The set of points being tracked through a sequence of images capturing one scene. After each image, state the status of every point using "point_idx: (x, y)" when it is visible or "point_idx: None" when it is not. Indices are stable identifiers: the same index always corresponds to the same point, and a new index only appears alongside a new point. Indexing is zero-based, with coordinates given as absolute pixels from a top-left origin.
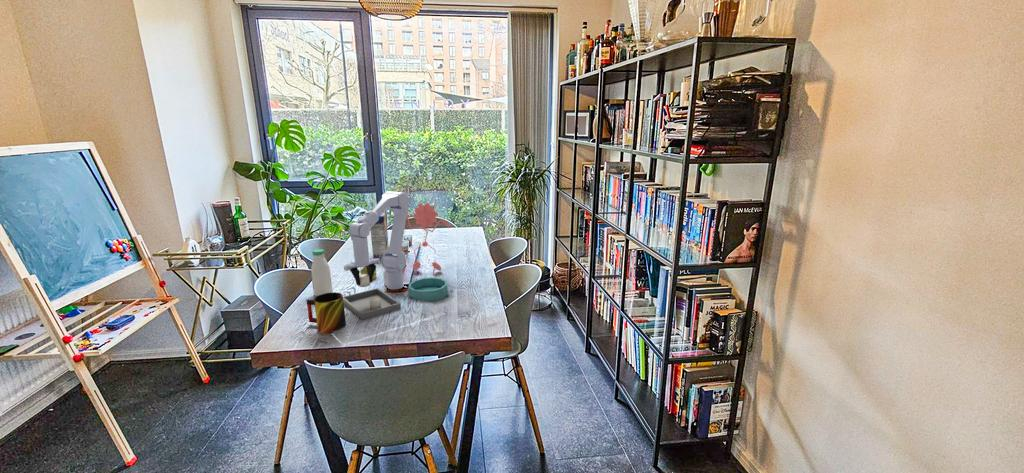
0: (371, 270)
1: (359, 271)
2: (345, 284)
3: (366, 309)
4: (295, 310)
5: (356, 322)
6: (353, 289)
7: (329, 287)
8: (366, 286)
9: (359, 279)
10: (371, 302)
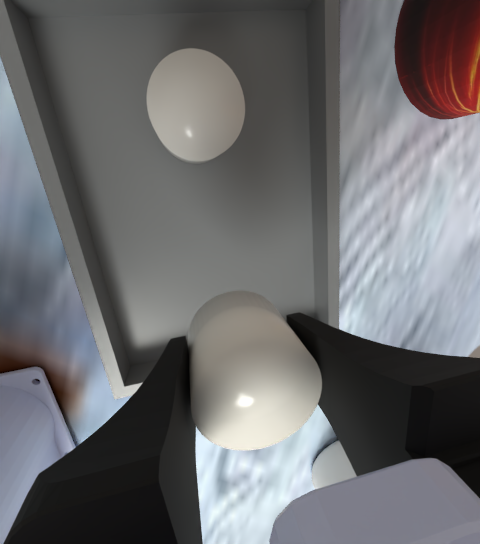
0: (155, 426)
1: (405, 381)
2: (242, 527)
3: (247, 153)
4: (475, 344)
5: (342, 13)
6: (226, 469)
7: (345, 477)
8: (231, 291)
9: (318, 334)
10: (234, 76)
